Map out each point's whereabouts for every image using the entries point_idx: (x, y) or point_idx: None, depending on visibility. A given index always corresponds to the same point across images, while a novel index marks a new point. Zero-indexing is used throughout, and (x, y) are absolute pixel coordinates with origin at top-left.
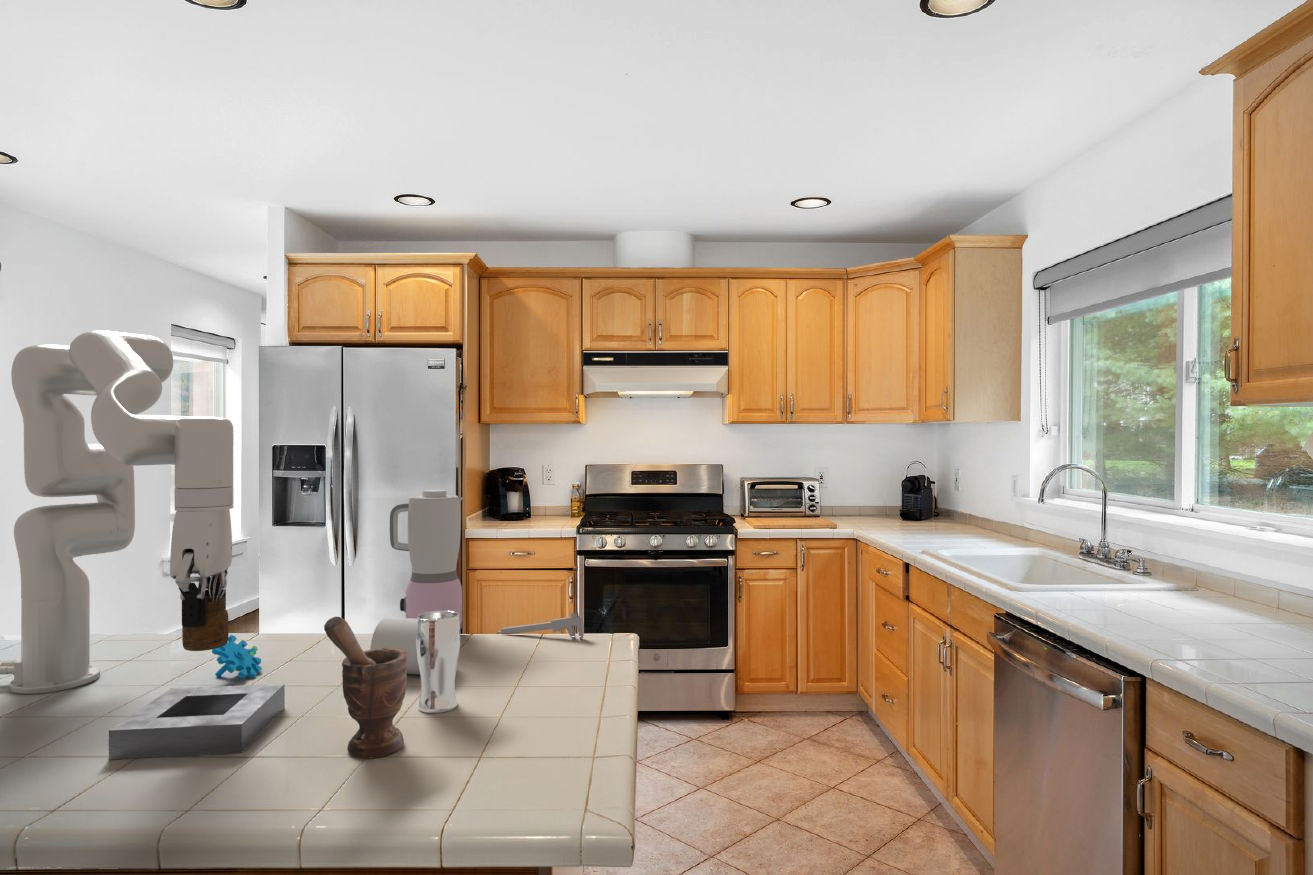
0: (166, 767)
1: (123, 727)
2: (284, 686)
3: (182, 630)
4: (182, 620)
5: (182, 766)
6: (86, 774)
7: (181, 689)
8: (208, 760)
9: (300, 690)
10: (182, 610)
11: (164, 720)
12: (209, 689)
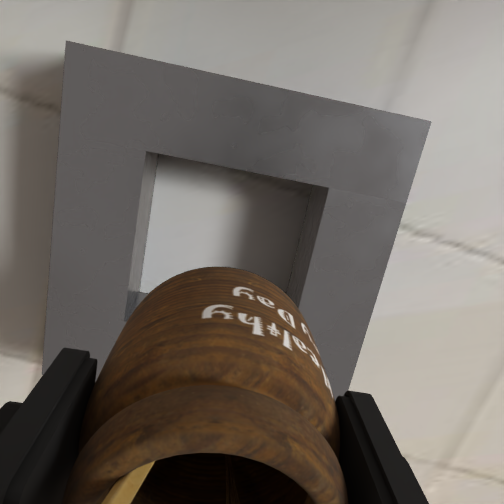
0: (16, 205)
1: (83, 78)
2: None
3: (168, 304)
4: (51, 367)
5: (15, 237)
6: (8, 27)
7: (405, 157)
8: (39, 282)
9: (446, 393)
10: (17, 415)
11: (116, 181)
12: (368, 240)
